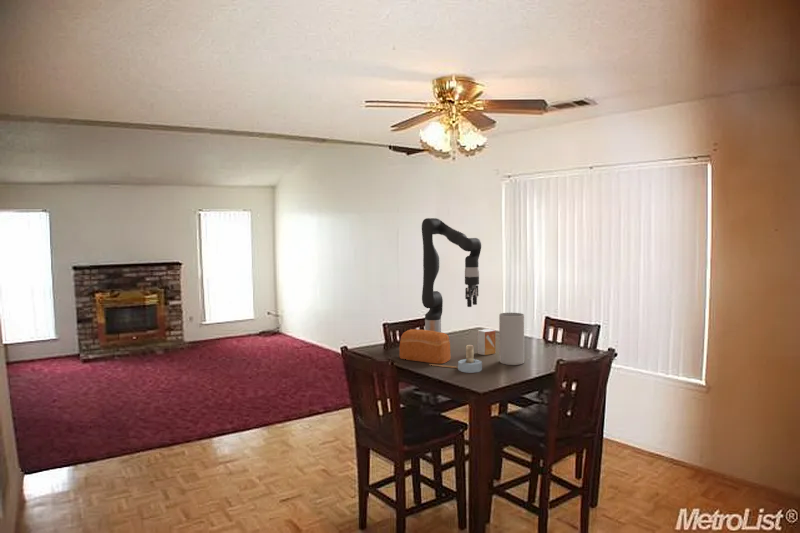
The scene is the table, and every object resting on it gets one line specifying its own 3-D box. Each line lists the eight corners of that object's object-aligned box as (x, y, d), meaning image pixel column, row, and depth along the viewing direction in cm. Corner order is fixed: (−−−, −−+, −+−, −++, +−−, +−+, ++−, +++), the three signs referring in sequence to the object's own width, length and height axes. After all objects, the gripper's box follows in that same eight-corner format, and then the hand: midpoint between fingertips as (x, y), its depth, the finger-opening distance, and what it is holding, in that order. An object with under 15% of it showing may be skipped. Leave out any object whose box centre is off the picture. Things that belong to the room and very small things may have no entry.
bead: (455, 371, 267) (455, 363, 267) (463, 365, 277) (463, 358, 277) (477, 373, 263) (476, 365, 262) (484, 368, 272) (484, 360, 272)
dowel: (465, 370, 269) (465, 346, 268) (467, 368, 272) (467, 344, 271) (472, 371, 267) (472, 346, 266) (474, 369, 271) (474, 345, 270)
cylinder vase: (527, 365, 277) (527, 316, 275) (503, 365, 276) (502, 316, 274) (520, 359, 289) (520, 312, 288) (496, 359, 288) (496, 312, 287)
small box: (484, 355, 298) (484, 332, 297) (477, 353, 304) (477, 330, 303) (495, 353, 303) (495, 330, 302) (488, 351, 308) (487, 328, 307)
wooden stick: (428, 365, 279) (428, 363, 279) (429, 365, 280) (429, 363, 280) (459, 368, 272) (459, 367, 272) (460, 368, 272) (460, 366, 272)
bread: (440, 365, 280) (440, 334, 278) (397, 359, 293) (396, 330, 292) (452, 359, 291) (452, 330, 290) (410, 354, 305) (410, 326, 304)
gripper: (469, 274, 299) (469, 303, 300) (460, 276, 286) (460, 307, 288) (482, 274, 296) (483, 304, 297) (474, 277, 283) (474, 308, 284)
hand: (472, 305), depth 292 cm, fingers open, 8 cm apart
